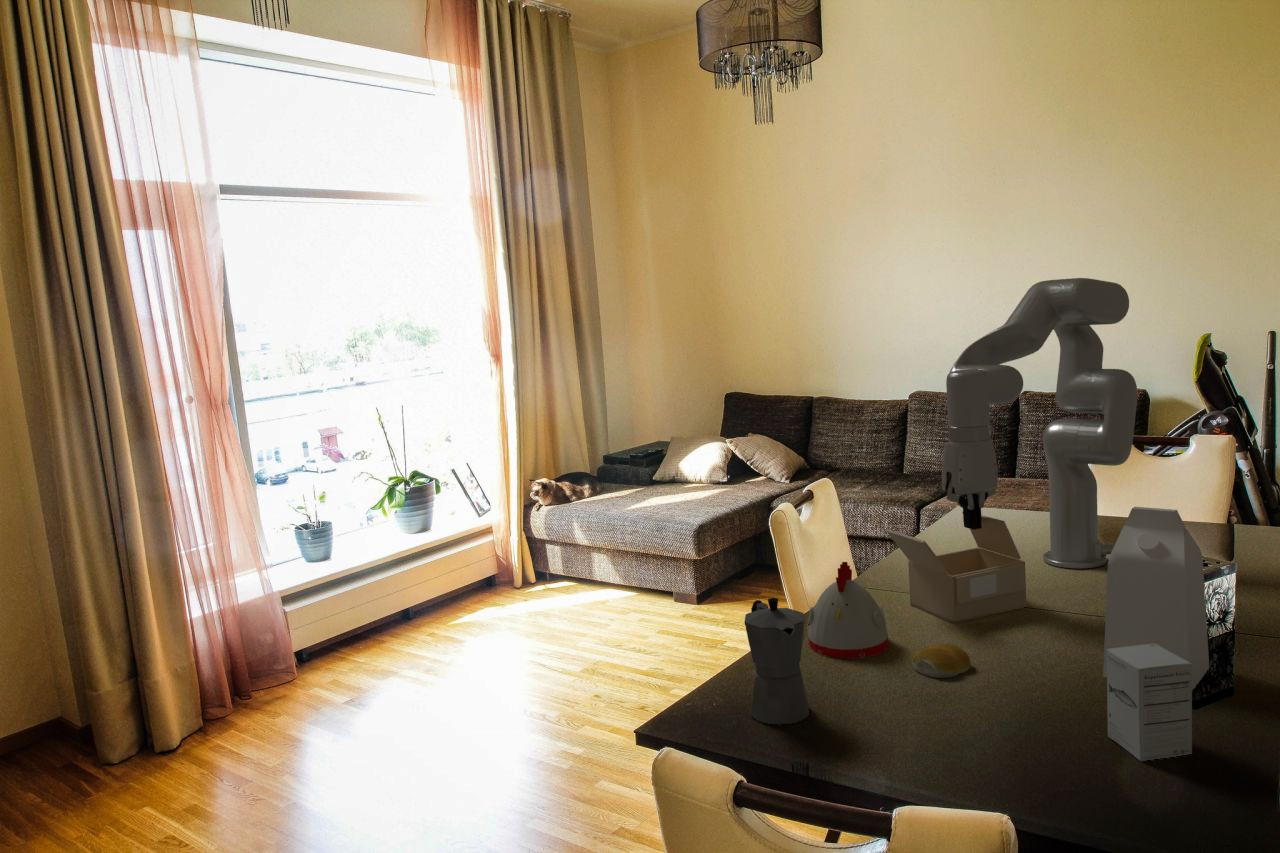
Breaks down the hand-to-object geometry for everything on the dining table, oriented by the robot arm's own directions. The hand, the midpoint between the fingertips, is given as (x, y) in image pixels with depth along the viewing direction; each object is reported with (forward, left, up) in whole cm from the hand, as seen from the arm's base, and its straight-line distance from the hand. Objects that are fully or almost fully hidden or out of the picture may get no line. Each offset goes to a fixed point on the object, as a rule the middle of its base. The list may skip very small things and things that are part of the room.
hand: (972, 527), depth 181 cm
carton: (+2, +1, -15) cm, 16 cm away
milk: (-26, +30, -16) cm, 43 cm away
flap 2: (-5, -4, -6) cm, 9 cm away
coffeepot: (+29, +53, -16) cm, 62 cm away
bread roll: (+5, +33, -16) cm, 37 cm away
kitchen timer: (+22, +24, -16) cm, 36 cm away
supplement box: (-21, +56, -16) cm, 62 cm away
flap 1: (+8, +7, -6) cm, 12 cm away
